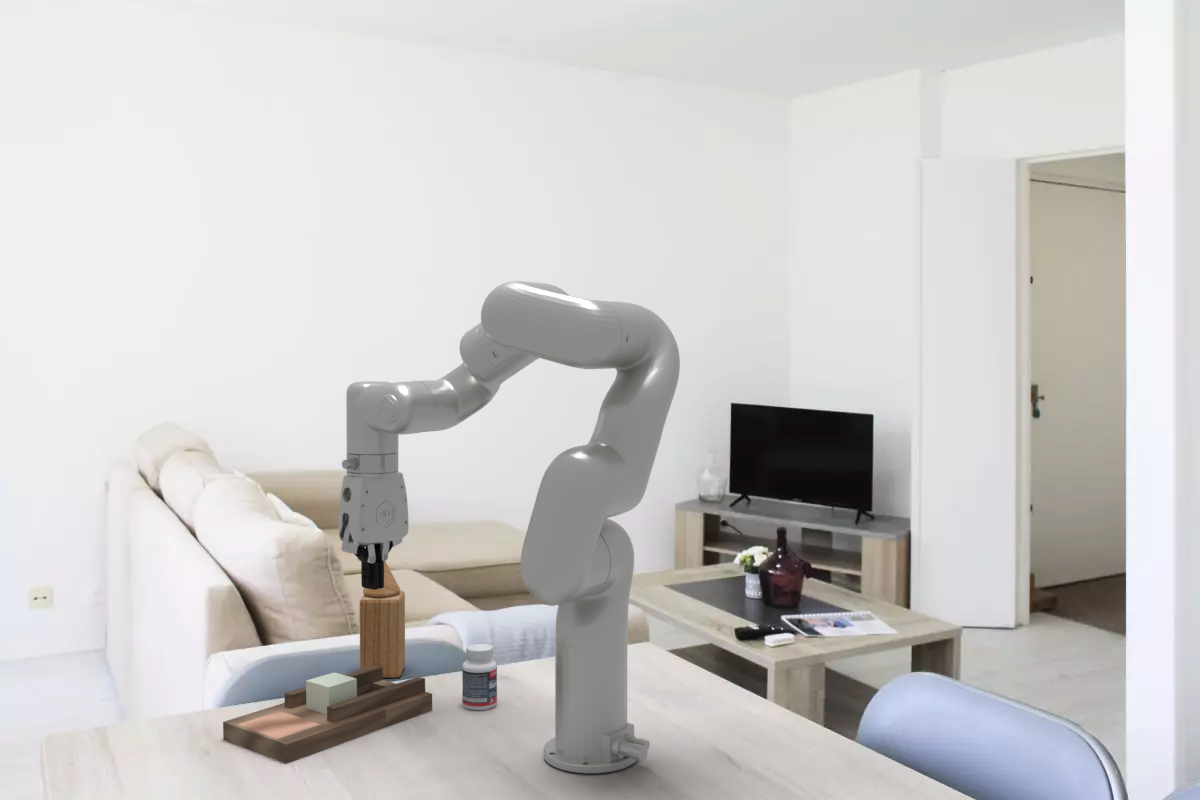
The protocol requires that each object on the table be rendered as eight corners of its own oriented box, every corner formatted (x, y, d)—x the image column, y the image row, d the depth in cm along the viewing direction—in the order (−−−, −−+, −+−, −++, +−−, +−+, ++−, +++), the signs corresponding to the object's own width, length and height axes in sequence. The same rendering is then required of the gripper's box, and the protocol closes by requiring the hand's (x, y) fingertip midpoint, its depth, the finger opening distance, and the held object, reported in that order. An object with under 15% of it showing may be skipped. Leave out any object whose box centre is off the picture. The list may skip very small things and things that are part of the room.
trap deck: (432, 710, 160) (432, 680, 160) (286, 763, 139) (285, 729, 139) (369, 691, 169) (369, 663, 168) (223, 739, 148) (222, 707, 148)
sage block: (356, 706, 154) (356, 678, 154) (328, 715, 150) (328, 687, 150) (334, 699, 157) (334, 672, 157) (306, 708, 153) (306, 680, 153)
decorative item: (366, 667, 182) (365, 550, 181) (405, 666, 182) (404, 549, 181) (359, 679, 175) (358, 557, 174) (400, 678, 175) (399, 557, 175)
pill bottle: (494, 711, 160) (494, 652, 159) (459, 711, 160) (459, 652, 159) (498, 699, 165) (498, 642, 165) (465, 699, 165) (464, 642, 165)
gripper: (349, 471, 151) (349, 600, 151) (427, 462, 162) (427, 582, 163) (315, 467, 155) (315, 593, 156) (393, 459, 167) (393, 576, 168)
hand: (372, 587), depth 160 cm, fingers closed
